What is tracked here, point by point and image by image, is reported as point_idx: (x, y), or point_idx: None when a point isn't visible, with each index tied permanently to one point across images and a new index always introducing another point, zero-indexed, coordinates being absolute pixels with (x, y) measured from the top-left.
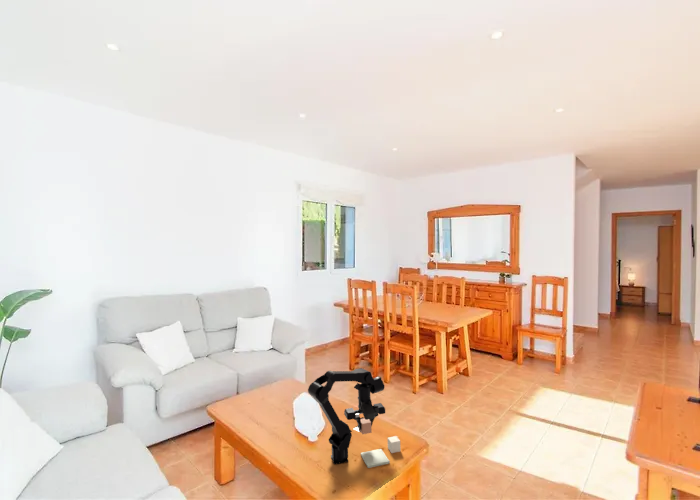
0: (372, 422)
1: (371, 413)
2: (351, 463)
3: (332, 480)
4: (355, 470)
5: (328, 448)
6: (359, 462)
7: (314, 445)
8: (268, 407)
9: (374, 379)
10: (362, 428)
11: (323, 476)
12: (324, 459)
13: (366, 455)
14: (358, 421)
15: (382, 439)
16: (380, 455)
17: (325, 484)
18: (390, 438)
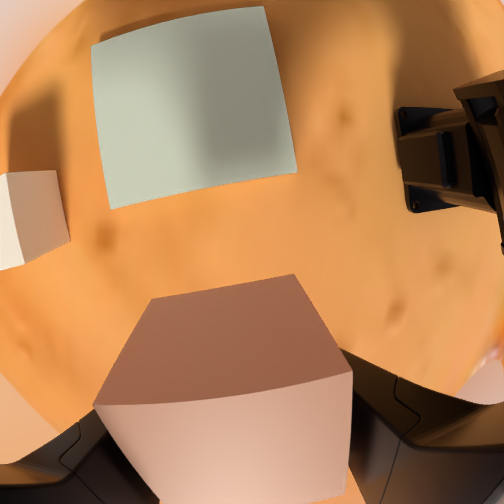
0: (91, 416)
1: None
2: (372, 88)
3: (455, 6)
4: (349, 16)
5: (466, 289)
6: (316, 82)
7: (501, 319)
8: None
9: None
10: (313, 314)
11: (491, 51)
12: None
13: (252, 124)
14: (448, 411)
15: (102, 347)
16: (133, 112)
17: (474, 2)
18: (6, 243)
